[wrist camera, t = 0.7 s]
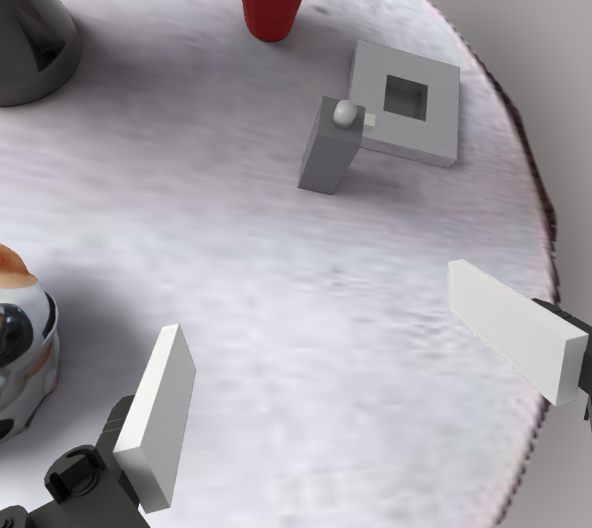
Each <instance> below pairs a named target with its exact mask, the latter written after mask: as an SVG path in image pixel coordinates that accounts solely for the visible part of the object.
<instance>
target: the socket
mask: <svg viewBox="0 0 592 528" xmlns="http://www.w3.org/2000/svg"><path fill="white" fill-rule="evenodd" d="M459 81H460V67H457V66H453V65H449V64H446V63H442V62H439V61H435V60H432V59H428V58H424V57H421V56H417V55H414V54H410V53H407V52H403V51H400V50H396V49H392V48H389V47H385V46H382V45H378V44H375V43H371V42H367V41H364V40H360V39H358V41H357V44H356V46H355V49H354V51H353V57H352V64H351V71H350V78H349V85H348V92H347V99H346V100H350V101H352V102H353V103H354V104H355V105H359V106H363V107H366V110H365V118H364V126H363V134H362V142H361V146H360V147H362V148H366V149H370V150H374V151H378V152H383V153H387V154H391V155H395V156H399V157H403V158H407V159H411V160H415V161H420V162H424V163H428V164H432V165H436V166H440V167H444V168H448V167H449V166H450V165H451V164H453V163H454V162H455V161H456V160H457V142H458V111H459Z"/></svg>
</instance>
